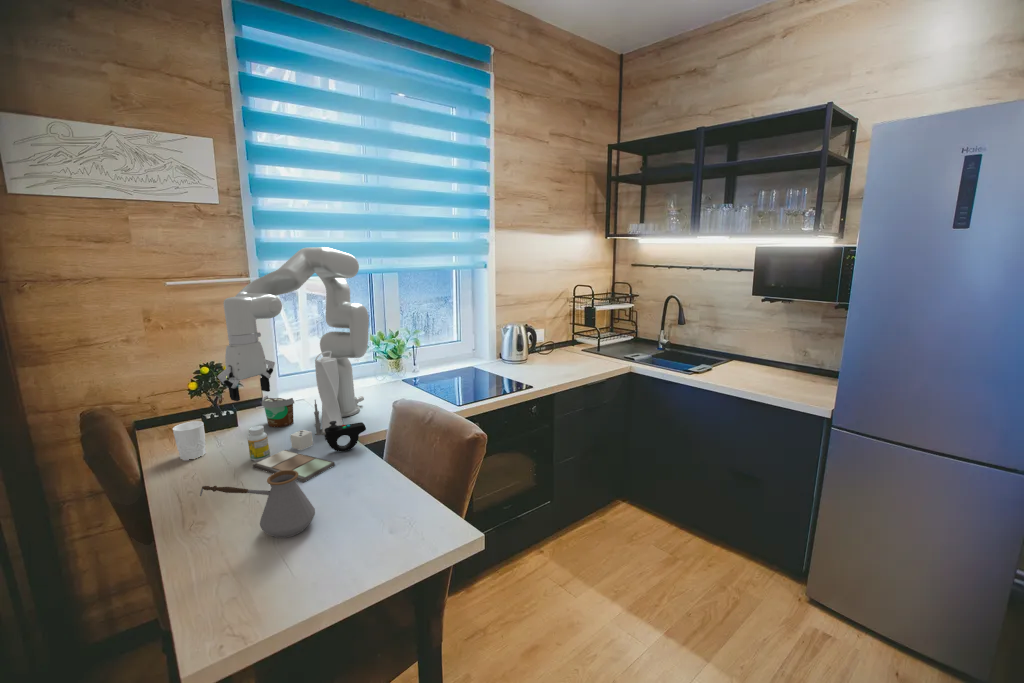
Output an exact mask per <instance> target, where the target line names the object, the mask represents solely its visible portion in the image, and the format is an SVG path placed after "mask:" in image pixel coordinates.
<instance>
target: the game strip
mask: <svg viewBox="0 0 1024 683" xmlns="http://www.w3.org/2000/svg"><path fill="white" fill-rule="evenodd" d="M334 465H336V463H335V461H331V460H327V459H323V458H319V457H316V456H311V455H307V454H304V453H300V452H296V451H292V450H288V449H283V450H281V451H279V452H277V453H275V454H273V455H271V456H269V457H268V458H266V459H264V460H260V461H256V463H254V464H252V468H253V469H257V470H260V471H263V470H264V471H263V472H266V471H267V473H271V474H273V473H276V472H279V471H282V470H294V471H297V472H298V477H297V479H296V481H297V480H298V481H297V482H301V481H302V482H301V483H305V482H307V481H308V480H311V479H313V478H314V476H315V477H316V476H318V475H320V474H322V473H324V472H325V471H327V470H329V469H331V468H332V466H333V467H334ZM330 467H331V468H330ZM328 468H329V469H328ZM323 471H324V472H323ZM321 472H322V473H321ZM312 477H313V478H312ZM310 478H311V479H310ZM306 480H307V481H306Z"/></svg>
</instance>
